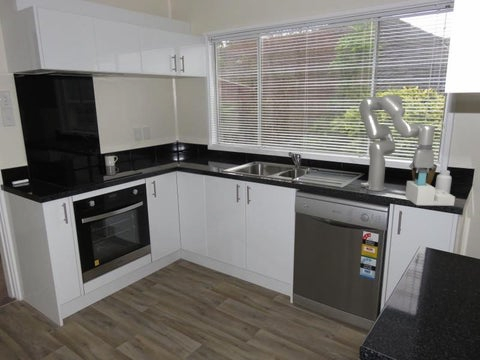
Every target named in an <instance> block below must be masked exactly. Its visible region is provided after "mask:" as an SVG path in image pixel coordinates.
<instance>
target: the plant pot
mask: <svg viewBox="0 0 480 360" xmlns="http://www.w3.org/2000/svg"><path fill="white" fill-rule="evenodd" d="M434 165H435V168H434V169H432V170H431V171H429V173H428V177H427V180H426V182H425V183H427V184H429V185H431V184H432V182H433V180H434V178H435V177H434V176H435V174H436V170H437V167H438V165H437V164H436V163H434ZM413 167H414V168H415V166H413ZM424 169H425V168H424ZM410 170H411V175H412V177H411V178H412V181H415V178H414V174H415V172H414V170H413V169H411V168H410Z"/></svg>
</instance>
